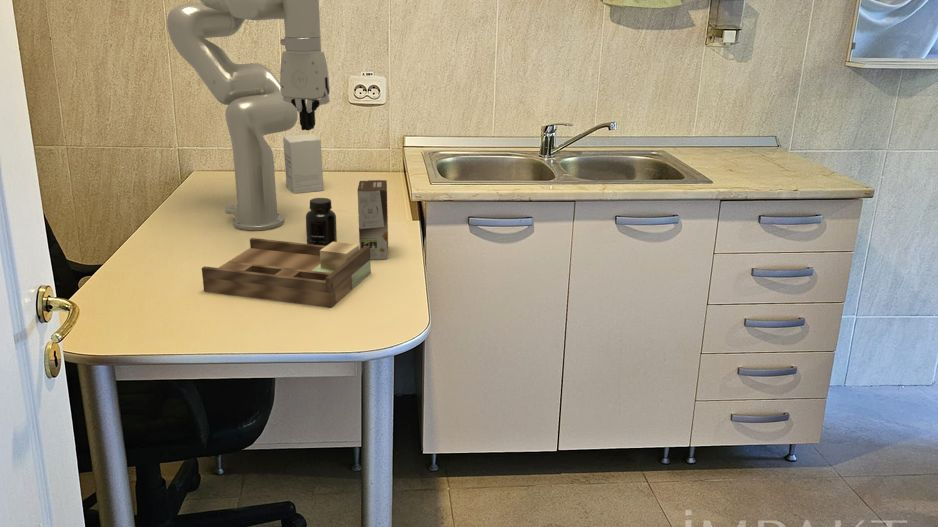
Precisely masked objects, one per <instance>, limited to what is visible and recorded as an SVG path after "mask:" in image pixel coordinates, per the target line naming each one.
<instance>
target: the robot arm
mask: <svg viewBox="0 0 938 527" xmlns="http://www.w3.org/2000/svg"><path fill="white" fill-rule="evenodd" d="M198 1H199V2H190V3H183V4H180V5H177V6H175V7H172V9H171V10H169V12H168V15H167V19H166V26H167V32H168V36H169V38H170V40H171V43H172V46H174V48H175V50H176V51H177V53H178V54H180V56H181V57H182V59H184V60H185V61H186V63H187V64H189V65H190V66H191V67H192V68H193V69H194V71H195V72H196V73H197V75H198V77H199V78H200V79H201V80H202V82H203V83H204V84H205V86H206V88H207V89H208V90H209V92H210V93H211V94H212V95H213V97H214V98H215V99H216V101H218V102H219V103H220V104H221V105H224V106H227V107H226V109H225V121H226V126H227V129H228V132H229V136H230V142H231V148H232V154H233V155H232V158H233V166H234V167H233V168H234V179H235V190H236V191H235V192H236V201H237V205H236V204H229V203H228V204H226V205H225V210H224V213H225V214H227V215H233V216H234V217H233V219H232V226H233V227H234V228H237V229H239V230H242V231H243V230H244V231H264V230H269V229H275V228H278V227H280V226H282V225H283V224H284V223H285V217H284V216H283V215H282V214H280V213H278V203H277V202H278V201H277V190H276V189H277V188H276V175H275V162H274V161H275V160H274V158H275V157H274V154H273V153H274V152H273V150H272V148H271V146H270V145H269V144H268V142H267V141H266V139H265V138H264V136H266V135H270V134H276V133H282V132H286V131H289V130H291V129H293V128H294V127H295V126H296V124H297V122H298V118H299V125H300V126H301V127H300V129H301V131H308V132H309V131H311V130H313V129H314V128H315V125H316V113H315V111H317V110H318V108H319V107H320V106H322V105H326V104H329V103H330V101H331V100H330V97H329V94H330V78H329V70H328V65H327V59H326V55H325V52H324V51H322V41H321V20H320V0H198ZM246 20H249V21H268V20H283V21H284V25H283V26H284V37H283V38H281V39H280V41H279V43H280V46H284V49H285V51H282V52H281V60H280V67H279V68H280V69H279V70H280V72H279V79H278V78H277V77H276V75H275V73H273V71H272V70H271V69H270V68H268V67H267V66H266V65H265V64H262V63H256V62H253V63H241V64H240V63H235V62H233V61H232V60H231V59H230V57H229V56H228V55H227V53H226V52H225V51H224V50H223V49H222V48H220V46H218V45H217V44H215V43H214V42H212V41H210V40H208V39H209V38H210V39H211V38H224V37H225V38H226V37H230V36H231V37H232V36H233V35H235V34H237V33H238V31H239V30H240V29H241V27H242V26H243V24H244V23H245V21H246ZM298 114H299V117H298Z"/></svg>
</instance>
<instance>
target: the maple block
mask: <svg viewBox="0 0 938 527" xmlns="http://www.w3.org/2000/svg"><path fill="white" fill-rule="evenodd" d="M359 250H360V244H354V243H348V242H339V241H337V242H332V243H330V244H329V245H327V246H326V247H324V248H323V249H321V250H320V266H321V269H327V270H334V271H335V270H336V269H337V268H338V267H340V266H341V265H342V264H343V263H345V262H346V261H347V260H348V259H350V258H351V257H352V256H353V255H355V254H356V253H357V252H358V251H359Z"/></svg>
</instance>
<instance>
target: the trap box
mask: <svg viewBox="0 0 938 527" xmlns="http://www.w3.org/2000/svg"><path fill="white" fill-rule="evenodd" d="M249 246H250V247H249V248H248V249H246V250H245V251H243V252H241V253H240V254H238V255H236V256H235V257H234V258H232V259H230V260H228V261H227V262H225V263H224V264H222V265H220V266H218V267H214V266H202V267H201V275H202V284H203V292H208V293H216V294H223V295H230V296H231V295H232V296H237V297H238V296H239V297H246V298H253V299H254V298H255V299H264V300H270V301H279V302H286V303H295V304H300V305H301V304H302V305H307V306H308V305H309V306H310V305H311V306H317V307H323V308H324V307H326V308H333V307H334V306H335V305H336V304H337V303H338V302H339V301H341V299H343V298H344V297H345V296H346V295H348V294H349V293H350V292H351V291H352V290H353V289H354V288H355V287H357V285H359V284H360V283H361V282H362V281H363V280H364V279H365V278H367V277H368V276H369V275H370V274H371V273H372V269H371V267H372V266H371V264H372V263H371V262H372V261H371V259H370V246H365V247H363V248H362V249H361V250H360V249H359V251H358V252H357V253H356V254H355V255H353V256H352V257H351V258H350V259H348V260H347V261H346V262H345V263H343V264H342V265H341V266H340V267H338V268H337V269H336V270H335V271H334V270H327V269H321V266H320V250H321V249H323V248H324V247H326V246H322V245H313V244H307V243H301V242H295V241H294V242H292V241H284V240H273V239H266V238H256V237H251V238H249ZM350 290H351V291H350ZM349 291H350V292H349Z"/></svg>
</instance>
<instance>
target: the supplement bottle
mask: <svg viewBox="0 0 938 527" xmlns="http://www.w3.org/2000/svg"><path fill="white" fill-rule="evenodd" d="M337 232H338V231H337V215H336V212H335V211H333V210H332V200H331V199H330V198H327V197H315V198H311V199H310V200H309V210H308V212H307V213H306V214H305V233H306V244H313V245H322V246H327V245H329V244H330V243H332V242H338V238H337Z"/></svg>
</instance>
